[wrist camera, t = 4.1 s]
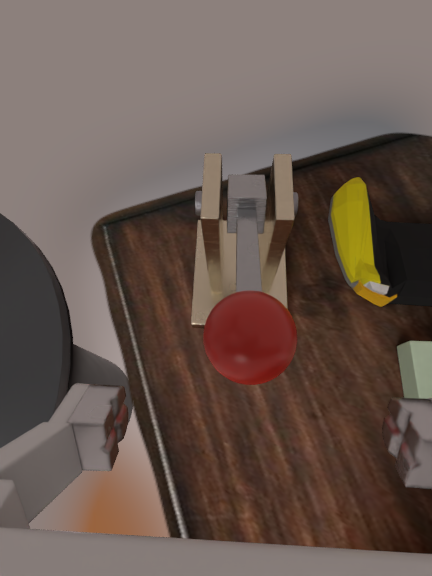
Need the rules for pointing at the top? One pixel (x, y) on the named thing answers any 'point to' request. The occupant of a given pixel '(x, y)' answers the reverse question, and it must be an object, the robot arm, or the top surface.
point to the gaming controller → (380, 250)
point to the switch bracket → (222, 246)
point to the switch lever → (249, 299)
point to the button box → (416, 368)
